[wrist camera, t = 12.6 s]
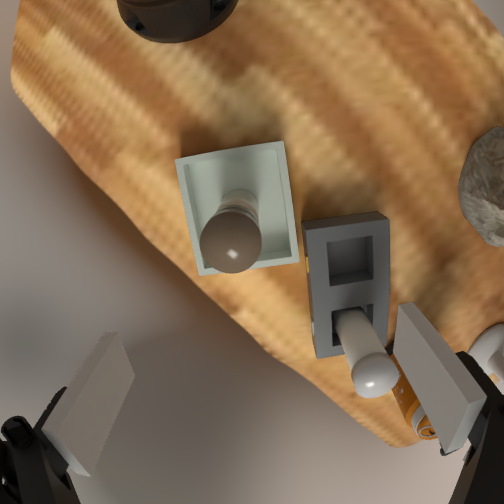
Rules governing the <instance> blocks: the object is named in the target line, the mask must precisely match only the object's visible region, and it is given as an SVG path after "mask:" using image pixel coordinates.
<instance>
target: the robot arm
mask: <svg viewBox="0 0 504 504" xmlns="http://www.w3.org/2000/svg"><path fill="white" fill-rule="evenodd" d="M237 2H238V0H117V5H118V9H119V13H120V15H121V18H122V19H123V21H124V22H125V24H126V25H127V26H128V27H129V28H130V29H131V30H133V31H134V32H135V33H136V34H138V35H139V36H141V37H143V38H145V39H147V40H150V41H153V42H158V43H180V42H185V41H189V40H193V39H196V38H198V37H201V36H203V35H205V34H207V33H209V32H211V31H212V30H214V29H215V28H217V27H218V26H219V25H221V24H222V23H223V22H224V21H225V20H226V19H227V18H228V17H229V16H230V14H231V13H232V12H233V10H234V8H235V7H236V5H237ZM393 354H394V355H395V357H396V359H397V361H398V363H399V364H400V366H401V368H402V370H403V372H404V373H405V375H406V377H407V379H408V381H409V383H410V384H411V386H412V388H413V390H414V392H415V394H416V396H417V398H418V400H419V401H420V403H421V405H422V407H423V409H424V411H425V413H426V415H427V417H428V419H429V421H430V423H431V425H432V427H433V429H434V431H435V433H436V435H437V437H438V439H439V441H440V443H441V445H442V447H443V449H444V452H445V454H446V453H449V452H451V451H454V450H457V449H459V448H462V447H463V445H464V443H465V442H466V440H467V438H468V439H469V441H470V443H471V444H472V445H471V446H470V448H469V450H468V451H467V453H466V455H465V457H464V458H463V461H465V463H464V466H463V469H462V471H461V474H460V477H459V479H458V482H457V484H456V487H455V489H454V492H453V495H452V497H451V499H450V501H449V504H504V395H502V394H501V392H500V391H499V390H498V388H497V387H496V386H495V384H494V383H493V382H492V380H491V379H490V378H489V377H488V375H487V374H486V373H484V370H483V369H482V368H481V366H479V364H478V363H477V362H476V360H475V359H474V358H473V357H472V356H471V355H469V354H467V353H466V352H464V351H461V352H458V353H454V352H453V350H452V349H451V348H450V346H449V345H448V344H447V343H446V341H445V340H444V339H443V338H442V336H441V335H440V334H439V333H438V331H437V330H436V329H435V328H434V327H433V325H432V324H431V323H430V322H429V321H428V319H427V318H426V317H425V316H424V315H423V313H422V312H421V311H420V310H419V309H418V307H417V306H416V305H415V304H414V303H413V302H411V303H405V304H399V305H398V315H397V324H396V332H395V340H394V348H393ZM134 377H135V375H134V372H133V370H132V368H131V365H130V363H129V360H128V358H127V355H126V352H125V350H124V347H123V344H122V342H121V339H120V336H119V334H118V332H105V333H104V335H103V336H102V337H101V339H100V340H99V342H98V343H97V344H96V346H95V347H94V349H93V350H92V352H91V353H90V355H89V356H88V357H87V359H86V360H85V362H84V363H83V365H82V366H81V368H80V369H79V371H78V372H77V374H76V375H75V377H74V378H73V380H72V381H71V383H70V384H69V386H68V387H63V388H62V389H61V390H60V391H58V392H57V393H56V394H55V396H54V397H53V399H52V400H51V403H49V405H48V406H47V409H46V410H45V411H44V412H43V414H42V416H41V417H40V419H39V420H38V422H37V423H36V425H35V427H34V428H32V427H31V426H30V424H29V423H28V422H27V420H26V419H25V418H24V417H22V416H14V417H11V418H10V419H8V420H7V421H6V422H5V423H4V424H3V426H2V427H1V433H2V434H3V436H4V437H5V438H6V440H7V441H2V440H1V439H0V504H81V503H80V501H79V499H78V496H77V494H76V491H75V488H74V486H73V484H72V481H71V478H70V476H69V474H68V473H67V471H66V470H67V468H68V465H69V466H70V467H71V468H72V469H73V471H74V472H75V473H77V474H81V475H85V476H90V477H91V475H92V473H93V470H94V468H95V465H96V463H97V461H98V458H99V456H100V454H101V451H102V449H103V447H104V444H105V442H106V440H107V437H108V435H109V433H110V430H111V428H112V426H113V423H114V421H115V419H116V417H117V414H118V412H119V410H120V408H121V405H122V403H123V401H124V399H125V397H126V394H127V392H128V390H129V387H130V386H131V383H132V381H133V379H134ZM2 478H3V479H4V480H5V482H4V484H2Z"/></svg>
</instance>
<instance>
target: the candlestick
mask: <svg viewBox="0 0 504 504" xmlns="http://www.w3.org/2000/svg"><path fill="white" fill-rule="evenodd" d="M467 354H469V355H471V356H472V357H473V358H474V359H475V360H476V362H477V363H478V364H479V366H481V368H482V369H483V370H484V373H486V374H487V375H490V374H492V373H494V374H495V375H496V376H497V377H498V378H499V379H500V380H501V381H502V382H503V384H504V324H497V325H494V326H492V327H490V328H489V329H487V330H486V331H484V332H483V333H482V334H481V335H480V336H479V337H478V338H477V339H476V340H475V341H474V343H473V344H472V345H471V347H470V348H469V350H468V352H467Z"/></svg>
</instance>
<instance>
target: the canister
mask: <svg viewBox="0 0 504 504" xmlns="http://www.w3.org/2000/svg"><path fill="white" fill-rule="evenodd" d="M393 348H394V343H392V344H391V345H390V346H389V348H388V349H387V350H386V352H387V354H388V355H389V356H390V357H391V358H392V360H393V362H394V363H395V365H396V367H397V369H398V371H399V378H398V381H397V383H396V385H395V386H394V387H393V388H392V391H393V394H394V396H395V398H396V400H397V403H398V405H399V407H400V409H401V412H402V414H403V416H404V418H405V421H406V423H407V425H409V426H410V427H412V428H413V429H414V431H415V433H416V435H417V436H419V437H420V438H422V439H426V440H431V439H436V438H438V437H437V435H436V433H435V431H434V429H433V427H432V425H431V423H430V421H429V419H428V417H427V415H426V413H425V411H424V409H423V407H422V405H421V403H420V401H419V400H418V398H417V396H416V394H415V392H414V390H413V388H412V386H411V384H410V383H409V381H408V379H407V377H406V375H405V373H404V372H403V370H402V368H401V366H400V364H399V363H398V361H397V359H396V357H395V355H394V354H393ZM440 445H441V443H440ZM441 447H442V445H441ZM459 449H460V448H459ZM457 450H458V449H457ZM454 451H456V450H454ZM454 451H451V452H449V453H446V454H445V452H444V449H443V447H442V448H441V449H440V453H441V455H442V456H443V455H444V456H446V455H448V454H450V453H452V452H454Z"/></svg>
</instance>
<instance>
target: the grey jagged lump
mask: <svg viewBox="0 0 504 504" xmlns="http://www.w3.org/2000/svg"><path fill="white" fill-rule="evenodd" d="M467 156H468V157H467V159H466V162H465V163H464V166H463V169H462V172H461V178H460V179H459V186H458V191H459V200H460V205H461V209H462V212H463V215H464V216H465V218H466V219H467V220H468V221H469V222H470V223H471V225H472V226H473V227H474V228H475V229H476V231H477V232H478V234H480V235H481V237H482V238H483V239H484V240H485V242H486V243H487V244H488V245H492V246H496V247H501V246H504V128H501V127H494V128H493V129H491V130H490V131H489V132H487V133H486V134H485V135H484V136H483V137H481V138H479V140H477V141H476V142H475V143H474V144H473V145H472V147H471V149H470V152H469V153H468V155H467Z"/></svg>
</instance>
